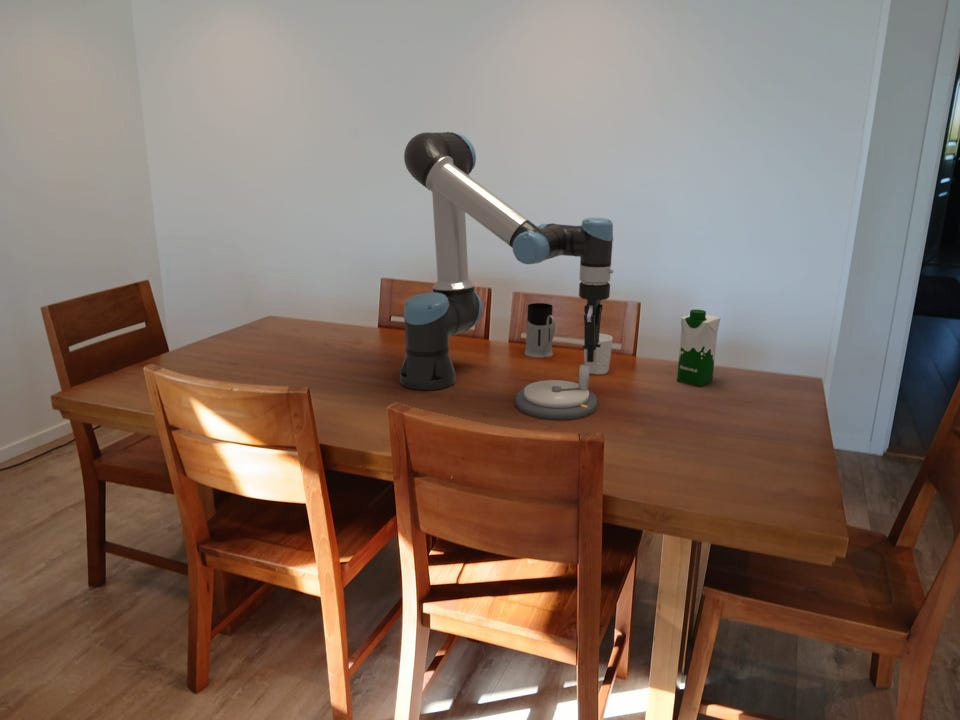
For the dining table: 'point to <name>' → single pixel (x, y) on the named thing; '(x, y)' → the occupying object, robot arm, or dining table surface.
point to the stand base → (556, 412)
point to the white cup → (603, 354)
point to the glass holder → (539, 330)
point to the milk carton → (697, 348)
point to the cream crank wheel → (559, 391)
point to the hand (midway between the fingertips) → (590, 372)
